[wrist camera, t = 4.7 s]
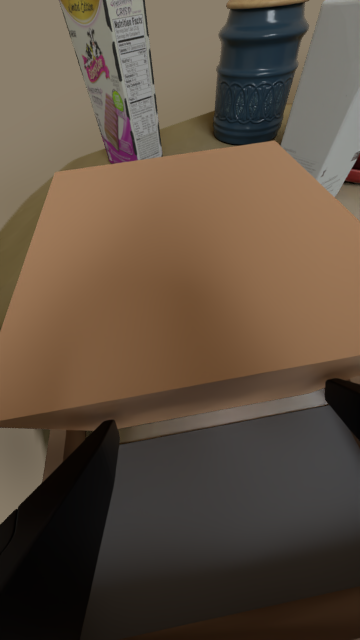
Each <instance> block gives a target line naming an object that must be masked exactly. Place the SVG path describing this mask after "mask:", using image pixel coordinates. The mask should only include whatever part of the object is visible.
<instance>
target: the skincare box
mask: <svg viewBox="0 0 360 640" xmlns="http://www.w3.org/2000/svg"><path fill="white" fill-rule="evenodd" d="M280 146H281V147H282V148H283V149H284V150H285V151H286V152H287V153H289V154H290V155H291V156H292V157H293V158H294V159H295V160H296V161H297V162H298V163H299V164H300V165H301V166H302V167H303V168H304V169H305V170H306V171H307V172H308V173H309V174H311V175H312V176H313V177H314V178H315V179H316V180H317V181H318V182H319V183H320V184H321V185H322V186H323V187H324V188H325V189H326V190H327V191H328V192H329V193H330V194H332V195H333V196H334V197H335V196H336V195H337V193H338V191H339V190H340V188H341V186H342V184H343V183H344V181H345V179H346V177H347V176H348V174H349V172H350V170H351V169H352V167H353V165H354V163H355V162H356V160H357V158H358V157H359V155H360V0H325V1H324V2H323V3H322V6H321V9H320V13H319V17H318V20H317V24H316V27H315V30H314V34H313V37H312V40H311V44H310V47H309V51H308V54H307V57H306V61H305V64H304V68H303V71H302V74H301V78H300V81H299V85H298V88H297V91H296V94H295V98H294V101H293V104H292V108H291V111H290V115H289V118H288V122H287V125H286V128H285V132H284V135H283V138H282V142H281V145H280Z"/></svg>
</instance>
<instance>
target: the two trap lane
mask: <svg viewBox="0 0 360 640" xmlns="http://www.w3.org/2000/svg"><path fill="white" fill-rule="evenodd" d="M346 381H350V382H353V383H357V384H360V376H357V377H354V378H351V379H348V380H346ZM85 434H86V431H85V430H55V429H50V436H49V442H48V449H47V455H46V461H45V468H44V474H43V481H44V480H45V479H46V478H47V477H48V476H49V475H50V474H51V473H52V472H53V471H54V470H55V469H56V468H57V467H58V466H59V465H60V464H61V463H62V462H63V461H64V460H65V459H66V458H67V457H68V456H69V455H70V454H71V453H72V452H73V451H74V450H75V449H76V448H77V447H78V446H79V445H80V444H81V443H82V442H83V441H84V440H85ZM43 481H42V482H43ZM80 640H360V441H359V440H358V439H357V438H356V437H355V436H354V434H353V433H352V432H351V431H350V430H349V428H348V427H347V426H346V425H345V424H344V422H343V421H342V420H341V419H340V417H339V416H338V415H337V414H336V412H335V411H334V410H333V409H332V408H331V406H330V405H328V406H323V407H318V408H312V409H307V410H302V411H297V412H291V413H286V414H281V415H275V416H270V417H265V418H260V419H254V420H249V421H244V422H238V423H233V424H228V425H223V426H217V427H212V428H207V429H201V430H196V431H191V432H186V433H180V434H175V435H170V436H165V437H159V438H154V439H149V440H143V441H138V442H133V443H128V444H122V445H119V450H118V459H117V467H116V475H115V482H114V488H113V492H112V497H111V502H110V506H109V511H108V515H107V520H106V524H105V529H104V533H103V538H102V542H101V547H100V551H99V556H98V560H97V565H96V569H95V574H94V578H93V583H92V588H91V592H90V597H89V601H88V606H87V610H86V615H85V619H84V624H83V628H82V633H81V637H80Z"/></svg>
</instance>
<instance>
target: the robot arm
mask: <svg viewBox="0 0 360 640" xmlns="http://www.w3.org/2000/svg"><path fill="white" fill-rule="evenodd" d="M325 399H326V401H327V403H328V404H329V405H330V406H331V408H332V409H333V410H334V411H335V412H336V414H337V415H338V416H339V417H340V419H341V420H342V421H343V422H344V424H345V425H346V426H347V427H348V428H349V430H350V431H351V432H352V433H353V434H354V436H355V437H356V438H357V439H358V440H359V441H360V384H357V383H353V382H350V381H346V380H343V379H339V378H333V379H328V380H326V382H325ZM119 442H120V437H119V432H118V429H117V425H116V422H115V420H113V419H111V420H105V421H103V422H102V423H101V424H100V425H99V426H98V427H97V428H96V429H95V430H94V431H93V432H92V433H91V434H90V435H89V436H88V437H87V438H86V439H85V440H84V441H83V442H82V443H81V444H80V445H79V446H78V447H77V448H76V449H75V450H74V451H73V452H72V453H71V454H70V455H69V456H68V457H67V458H66V459H65V460H64V461H63V462H62V463H61V464H60V465H59V466H58V467H57V468H56V469H55V470H54V471H53V472H52V473H51V474H50V475H49V476H48V477H47V478H46V479H45V480H44V481H43V482H42V483H41V485H40V486H38V487H37V489H35V491H33V493H32V494H31V495H29V497H27V498H26V499H25V501H24V502H22V503H21V504H20V506H19V507H18V509H16V510H14V511H13V512H12V513H11V514H10V515H9V516H8V517H7V519H5V521H4V522H3V523H2V524H0V640H80V637H81V633H82V628H83V624H84V619H85V615H86V610H87V606H88V601H89V597H90V592H91V588H92V583H93V578H94V574H95V569H96V565H97V560H98V556H99V551H100V547H101V542H102V538H103V533H104V529H105V524H106V520H107V515H108V511H109V506H110V502H111V497H112V492H113V488H114V482H115V475H116V467H117V459H118V450H119Z"/></svg>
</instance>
